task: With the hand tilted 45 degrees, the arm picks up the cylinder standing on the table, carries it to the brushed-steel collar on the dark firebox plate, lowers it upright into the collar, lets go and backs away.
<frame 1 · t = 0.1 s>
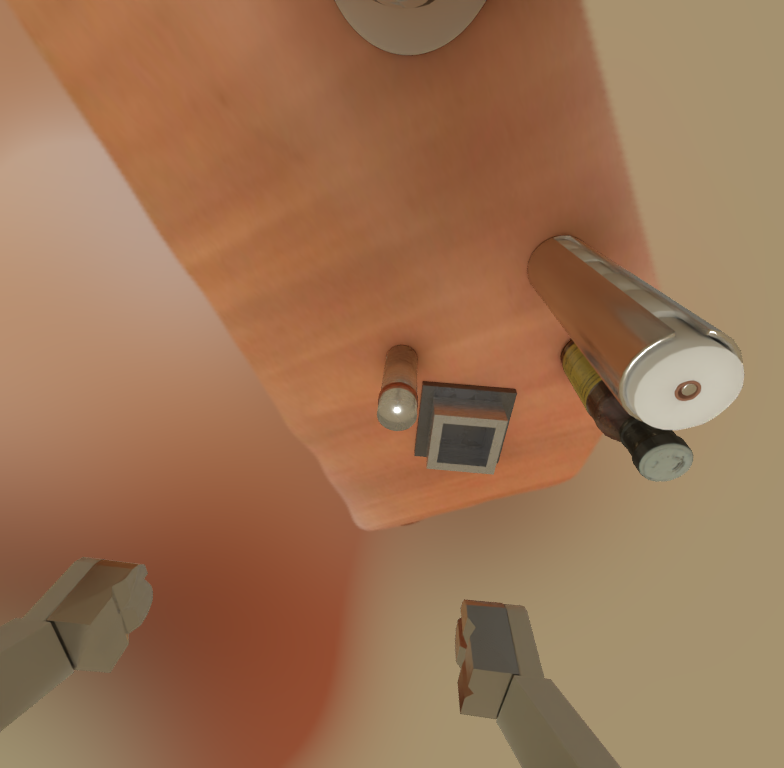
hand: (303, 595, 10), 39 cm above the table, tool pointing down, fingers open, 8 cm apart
cylinder: (401, 359, 50), on the table
sauce bottle: (583, 351, 49), on the table
collar: (461, 422, 55), on the table
silver piece: (557, 265, 43), on the table
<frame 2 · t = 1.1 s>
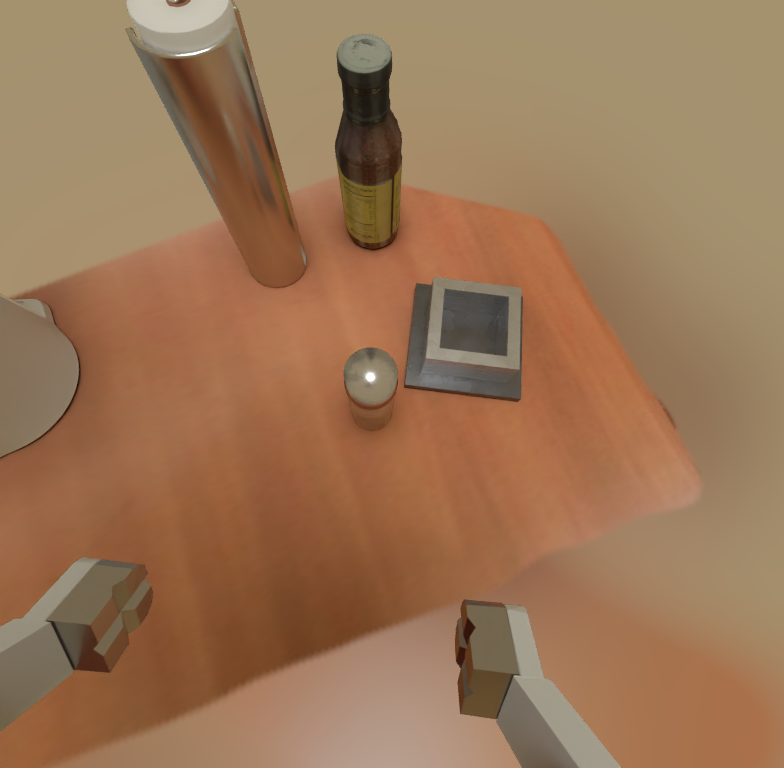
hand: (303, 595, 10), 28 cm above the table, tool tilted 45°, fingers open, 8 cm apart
cylinder: (372, 411, 41), on the table
sauce bottle: (371, 232, 48), on the table
collar: (464, 342, 44), on the table
silver piece: (278, 264, 46), on the table
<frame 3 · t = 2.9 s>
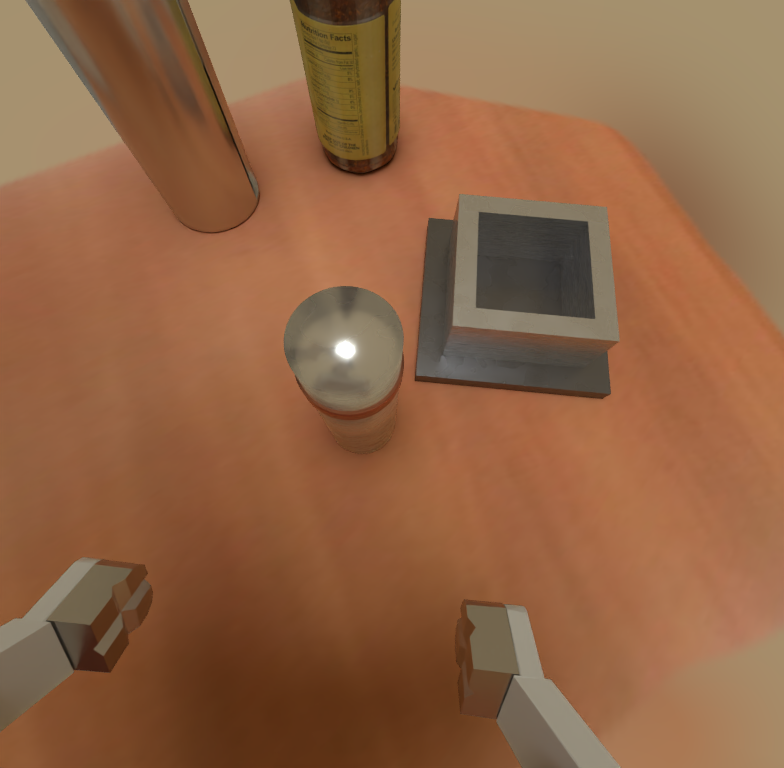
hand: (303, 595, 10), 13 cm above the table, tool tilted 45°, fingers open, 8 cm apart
cylinder: (362, 421, 25), on the table
sauce bottle: (358, 151, 32), on the table
collar: (508, 306, 27), on the table
silver piece: (217, 199, 30), on the table
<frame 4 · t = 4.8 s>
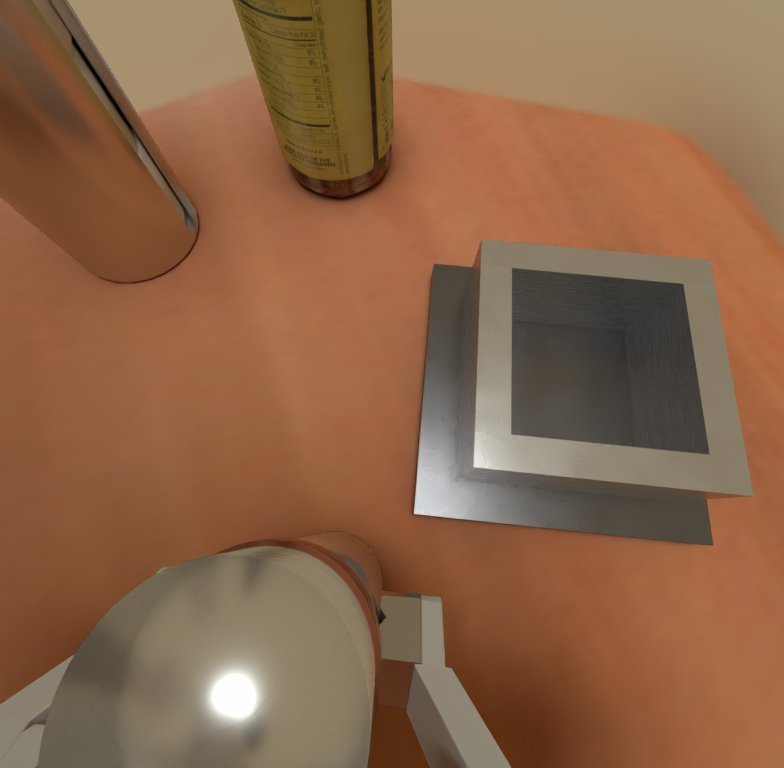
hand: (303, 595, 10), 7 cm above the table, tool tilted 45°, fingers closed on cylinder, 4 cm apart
cylinder: (333, 583, 16), on the table, touching gripper
sauce bottle: (338, 166, 24), on the table
collar: (549, 395, 19), on the table
silver piece: (141, 234, 22), on the table
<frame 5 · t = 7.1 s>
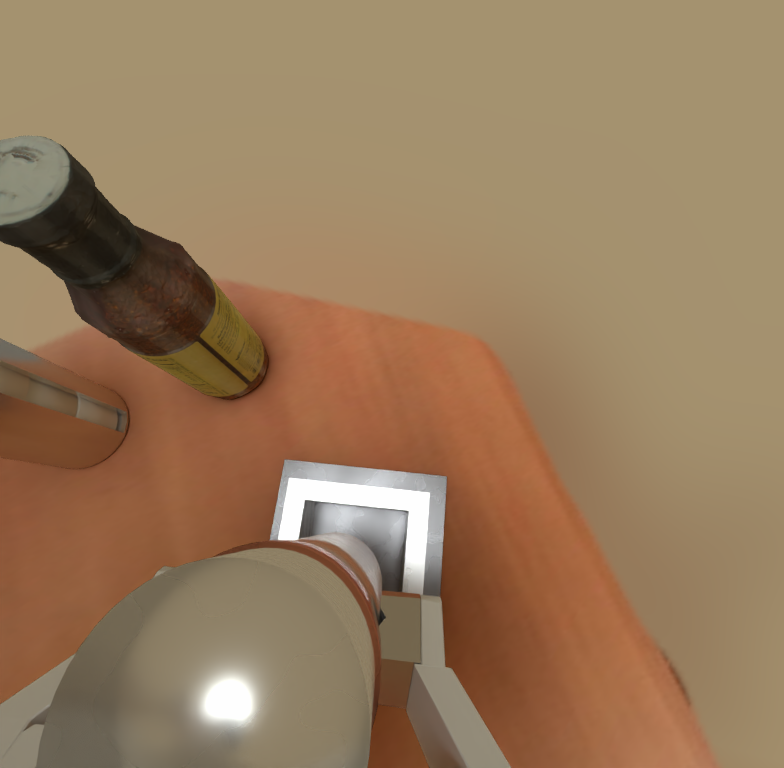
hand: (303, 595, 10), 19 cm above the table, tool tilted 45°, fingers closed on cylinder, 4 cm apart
cylinder: (332, 584, 16), point 13 cm above the table, touching gripper
sauce bottle: (232, 369, 33), on the table
collar: (355, 554, 28), on the table
silver piece: (88, 427, 31), on the table
when the fingers open (9 cm above the table, at t = 9.4 s): cylinder moves 1 cm, resting on collar.
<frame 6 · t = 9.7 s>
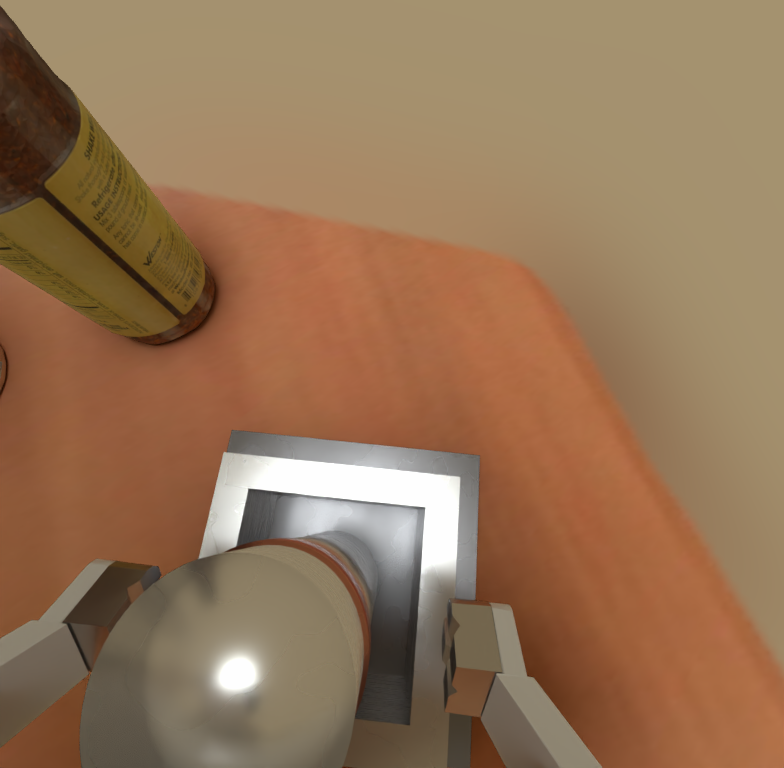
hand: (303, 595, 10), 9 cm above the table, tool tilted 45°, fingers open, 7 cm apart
cylinder: (331, 580, 17), point 1 cm above the table, touching collar
sauce bottle: (164, 304, 23), on the table
collar: (339, 576, 18), on the table
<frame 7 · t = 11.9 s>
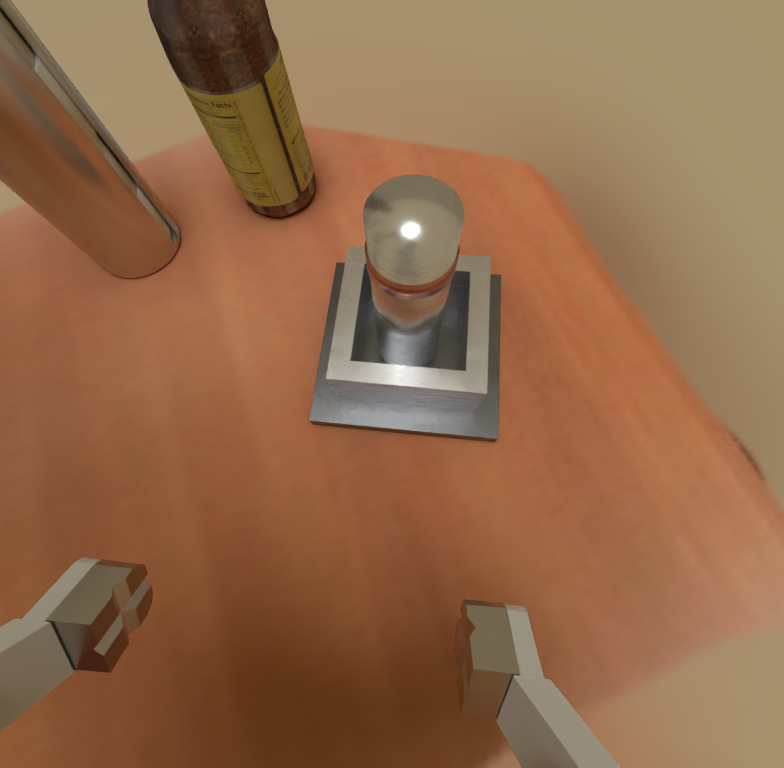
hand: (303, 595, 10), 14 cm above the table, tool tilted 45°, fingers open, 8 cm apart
cylinder: (407, 343, 27), point 1 cm above the table, touching collar
sauce bottle: (279, 194, 33), on the table
collar: (410, 349, 28), on the table
silver piece: (141, 245, 32), on the table
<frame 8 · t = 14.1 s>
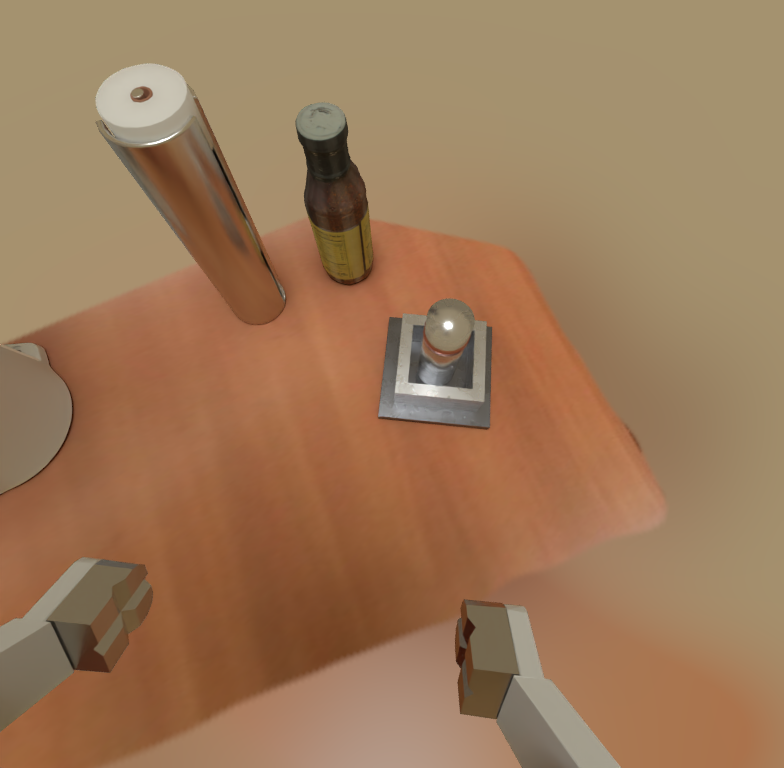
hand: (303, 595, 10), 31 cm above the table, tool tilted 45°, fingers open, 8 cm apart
cylinder: (435, 369, 45), point 1 cm above the table, touching collar
sauce bottle: (347, 267, 50), on the table
collar: (436, 372, 46), on the table
silver piece: (259, 301, 49), on the table
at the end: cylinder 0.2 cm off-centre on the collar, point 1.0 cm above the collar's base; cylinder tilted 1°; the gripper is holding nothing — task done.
